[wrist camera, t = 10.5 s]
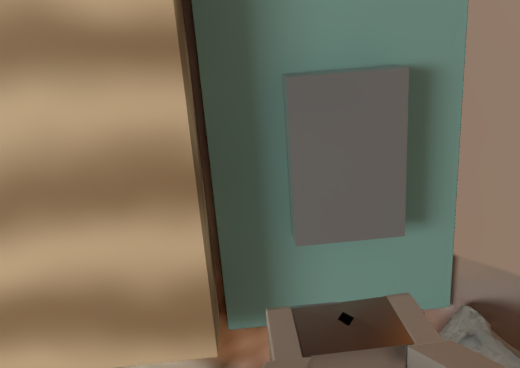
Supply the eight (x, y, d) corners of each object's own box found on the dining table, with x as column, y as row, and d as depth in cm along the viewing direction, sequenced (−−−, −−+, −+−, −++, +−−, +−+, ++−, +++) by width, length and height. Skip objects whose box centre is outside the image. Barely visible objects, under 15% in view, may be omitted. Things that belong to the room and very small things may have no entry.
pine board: (-119, -19, 22) (-192, -30, 18) (176, -41, 22) (166, -56, 19) (-11, 337, 28) (-48, 384, 24) (219, 314, 29) (217, 356, 25)
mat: (184, -65, 22) (184, -66, 22) (470, -85, 23) (473, -86, 22) (228, 326, 29) (228, 329, 29) (447, 304, 30) (449, 307, 29)
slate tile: (409, 67, 22) (395, 64, 24) (286, 77, 22) (281, 73, 24) (404, 236, 25) (392, 222, 27) (295, 246, 25) (291, 231, 27)
